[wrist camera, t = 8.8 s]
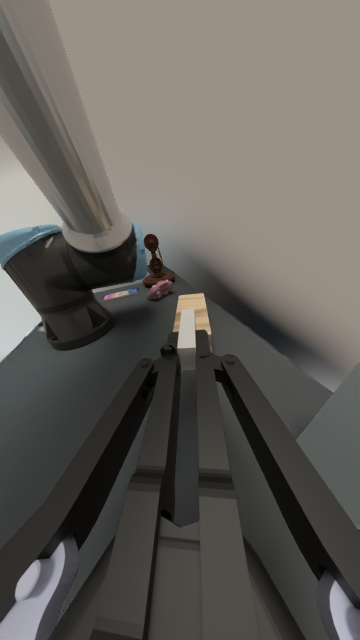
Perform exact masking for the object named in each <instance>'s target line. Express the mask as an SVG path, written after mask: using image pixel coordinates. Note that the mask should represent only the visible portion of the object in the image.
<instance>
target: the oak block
mask: <svg viewBox="0 0 360 640" xmlns="http://www.w3.org/2000/svg"><path fill="white" fill-rule="evenodd" d="M193 308H194V312H195V323H196V330H203V329H205V330H206V331H207V332H208V339H209V345H210V350H211V352H212V336H211V329H210V324H209V319H208V314H207V309H206V304H205V298H204V294H203V293H201V294H191V295H181V296H179V300H178V306H177V312H176V317H175V323H174V329H173V332H177V331H179V328H180V319H181V311H182V309H193Z"/></svg>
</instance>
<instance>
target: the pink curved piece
mask: <svg viewBox="0 0 360 640" xmlns="http://www.w3.org/2000/svg"><path fill="white" fill-rule="evenodd" d="M172 287H173V283H172V282H171V281H168V280H166V281H160V282H158V283H157V284H156V285H153V286H152V288H151V289H150V291H149V292H148V294H147V298H148V299H149V300H152V299H153V298H154V297H157V298H158V299H159V298H161V297H162V293H163V294H164V295H167V294H168V292H169V291H170V290H171V289H172ZM161 291H163V292H162V293H161Z"/></svg>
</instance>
